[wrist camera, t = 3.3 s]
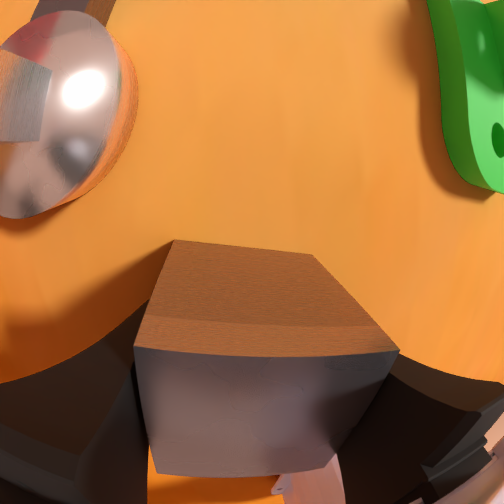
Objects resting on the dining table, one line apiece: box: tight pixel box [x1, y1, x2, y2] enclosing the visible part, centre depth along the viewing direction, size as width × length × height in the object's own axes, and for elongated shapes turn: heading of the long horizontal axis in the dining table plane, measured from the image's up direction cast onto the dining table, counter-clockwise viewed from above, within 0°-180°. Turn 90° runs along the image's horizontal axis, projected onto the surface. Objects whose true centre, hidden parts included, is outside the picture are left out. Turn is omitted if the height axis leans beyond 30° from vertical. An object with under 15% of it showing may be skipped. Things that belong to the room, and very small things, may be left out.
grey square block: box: [133, 240, 400, 478], centre depth 8 cm, size 5×5×6 cm
